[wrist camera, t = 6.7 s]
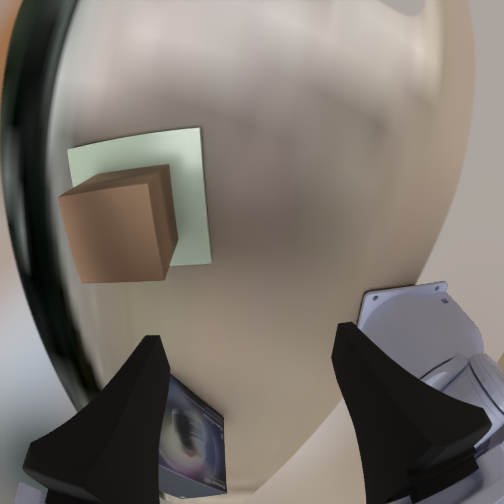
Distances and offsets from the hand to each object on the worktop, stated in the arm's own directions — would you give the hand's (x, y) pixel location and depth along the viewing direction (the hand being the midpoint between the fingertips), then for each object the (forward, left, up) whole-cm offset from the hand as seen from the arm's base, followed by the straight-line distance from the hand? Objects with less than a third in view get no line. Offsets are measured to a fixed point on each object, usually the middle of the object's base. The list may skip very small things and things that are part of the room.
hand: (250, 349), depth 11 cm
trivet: (+7, -4, -10) cm, 12 cm away
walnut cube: (+7, -3, -9) cm, 12 cm away
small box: (+8, +19, -10) cm, 23 cm away
